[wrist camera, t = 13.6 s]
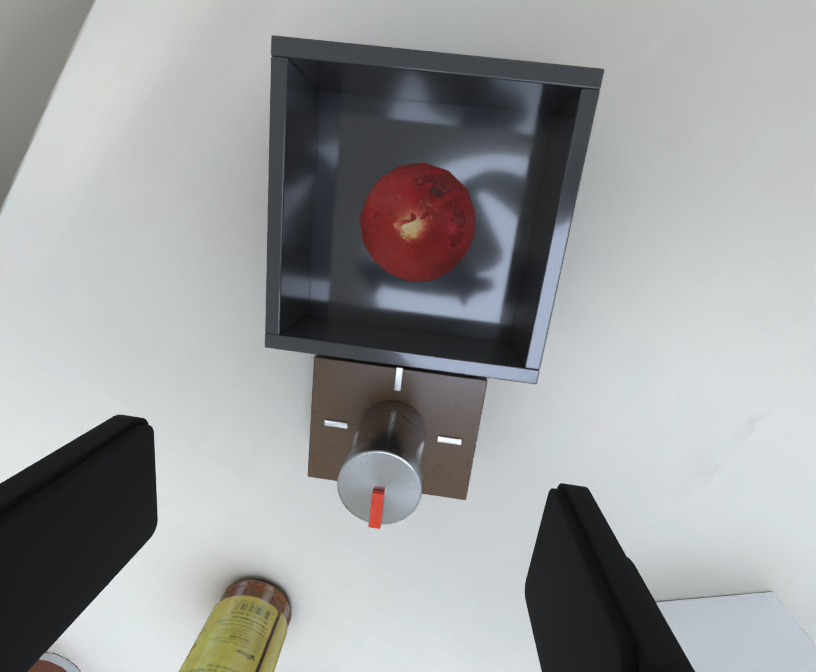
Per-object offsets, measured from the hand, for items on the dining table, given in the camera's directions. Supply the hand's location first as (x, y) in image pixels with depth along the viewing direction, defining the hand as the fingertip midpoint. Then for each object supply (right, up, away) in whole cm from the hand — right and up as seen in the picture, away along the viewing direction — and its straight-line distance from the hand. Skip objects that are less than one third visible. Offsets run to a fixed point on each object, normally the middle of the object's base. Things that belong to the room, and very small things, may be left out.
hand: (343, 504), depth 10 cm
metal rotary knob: (+1, -2, +15) cm, 15 cm away
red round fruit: (+2, +11, +15) cm, 19 cm away
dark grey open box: (+2, +11, +16) cm, 20 cm away
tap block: (+1, -1, +19) cm, 19 cm away
